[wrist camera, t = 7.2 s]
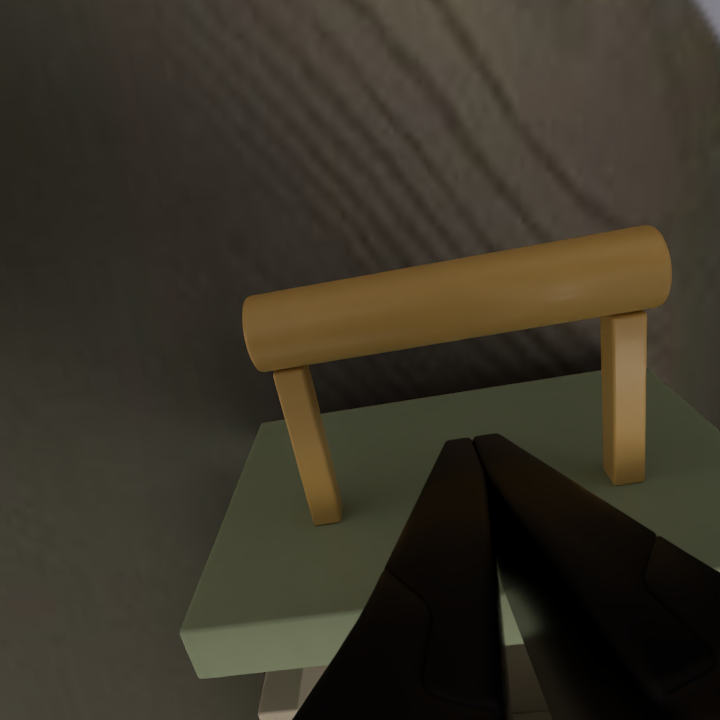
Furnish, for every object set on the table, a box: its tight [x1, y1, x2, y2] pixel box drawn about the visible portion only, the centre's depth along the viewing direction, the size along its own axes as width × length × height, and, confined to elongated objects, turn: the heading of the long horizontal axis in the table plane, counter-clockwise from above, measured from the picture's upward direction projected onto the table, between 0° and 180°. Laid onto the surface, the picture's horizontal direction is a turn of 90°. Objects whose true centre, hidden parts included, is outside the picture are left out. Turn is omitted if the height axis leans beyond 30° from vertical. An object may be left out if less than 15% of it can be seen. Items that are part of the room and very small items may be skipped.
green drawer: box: [180, 225, 720, 720], centre depth 14 cm, size 18×11×7 cm, turn 11°
